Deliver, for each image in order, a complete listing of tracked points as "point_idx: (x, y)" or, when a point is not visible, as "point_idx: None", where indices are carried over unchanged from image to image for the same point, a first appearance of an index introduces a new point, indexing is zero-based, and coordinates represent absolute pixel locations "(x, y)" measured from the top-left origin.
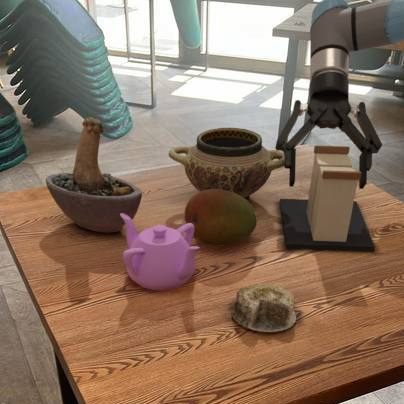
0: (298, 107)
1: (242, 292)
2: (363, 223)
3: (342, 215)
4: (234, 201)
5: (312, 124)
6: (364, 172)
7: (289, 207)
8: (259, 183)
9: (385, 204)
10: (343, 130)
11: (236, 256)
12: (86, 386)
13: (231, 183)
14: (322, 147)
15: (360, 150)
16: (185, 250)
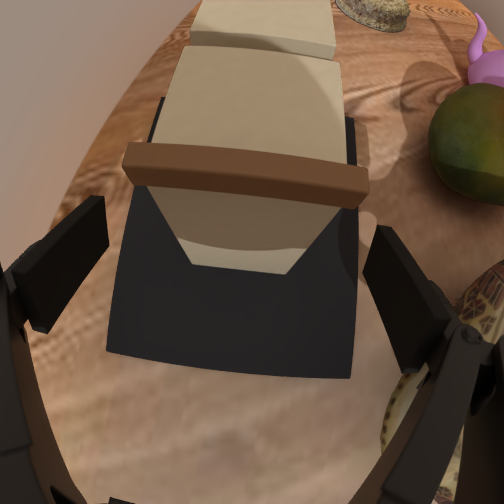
0: None
1: (404, 4)
2: (136, 199)
3: None
4: (495, 93)
5: (380, 489)
6: (78, 213)
7: (332, 311)
8: (459, 300)
9: (36, 347)
10: (73, 487)
11: (431, 119)
12: (468, 10)
13: None
14: (318, 159)
15: (28, 350)
16: (491, 56)
